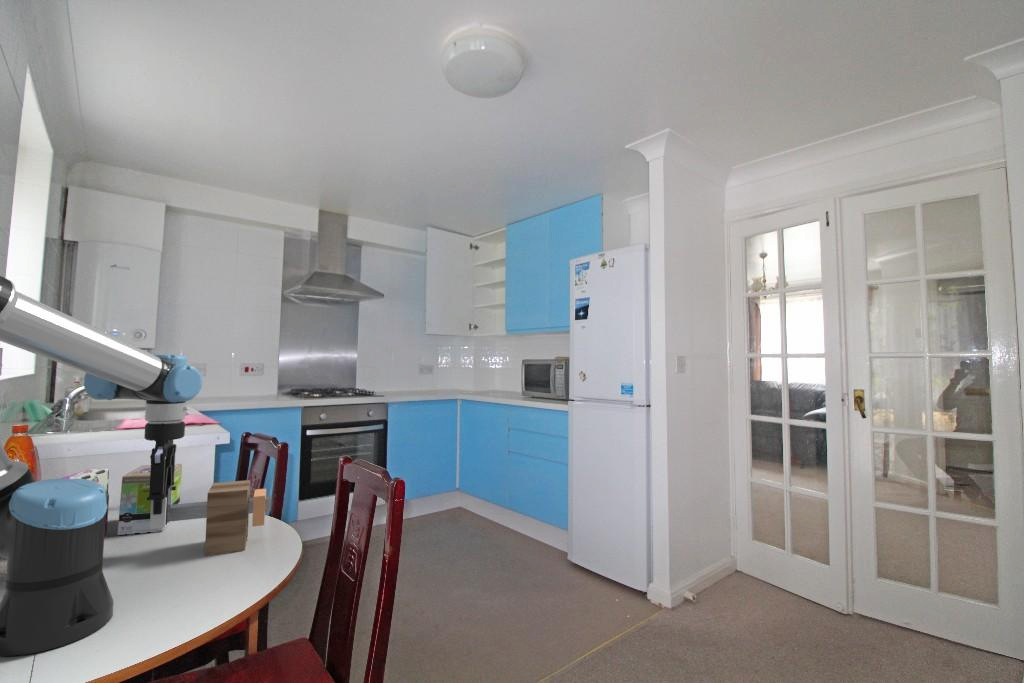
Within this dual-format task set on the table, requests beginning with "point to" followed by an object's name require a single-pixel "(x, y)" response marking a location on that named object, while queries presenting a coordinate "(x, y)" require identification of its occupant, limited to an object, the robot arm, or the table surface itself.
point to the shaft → (197, 508)
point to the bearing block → (227, 517)
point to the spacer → (259, 507)
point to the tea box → (141, 500)
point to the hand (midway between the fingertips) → (160, 523)
